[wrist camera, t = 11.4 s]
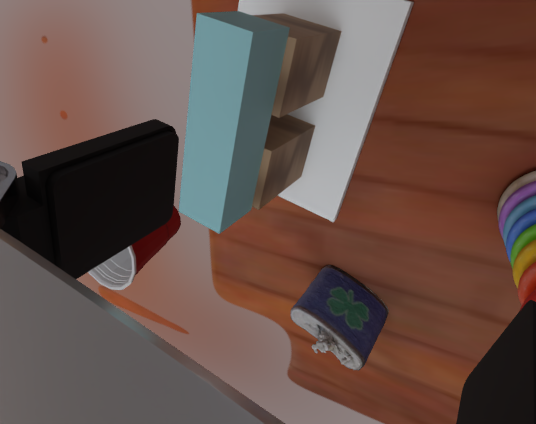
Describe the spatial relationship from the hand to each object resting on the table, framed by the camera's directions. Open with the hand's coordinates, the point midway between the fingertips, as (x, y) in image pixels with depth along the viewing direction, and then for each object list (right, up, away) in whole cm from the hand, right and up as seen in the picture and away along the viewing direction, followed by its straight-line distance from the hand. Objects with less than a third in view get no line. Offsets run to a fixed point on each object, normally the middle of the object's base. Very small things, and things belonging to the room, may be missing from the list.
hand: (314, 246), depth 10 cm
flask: (+9, -8, +38) cm, 40 cm away
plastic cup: (-16, +1, +50) cm, 52 cm away
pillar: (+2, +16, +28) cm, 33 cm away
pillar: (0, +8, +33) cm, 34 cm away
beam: (-3, +9, +24) cm, 26 cm away
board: (+2, +13, +32) cm, 34 cm away
